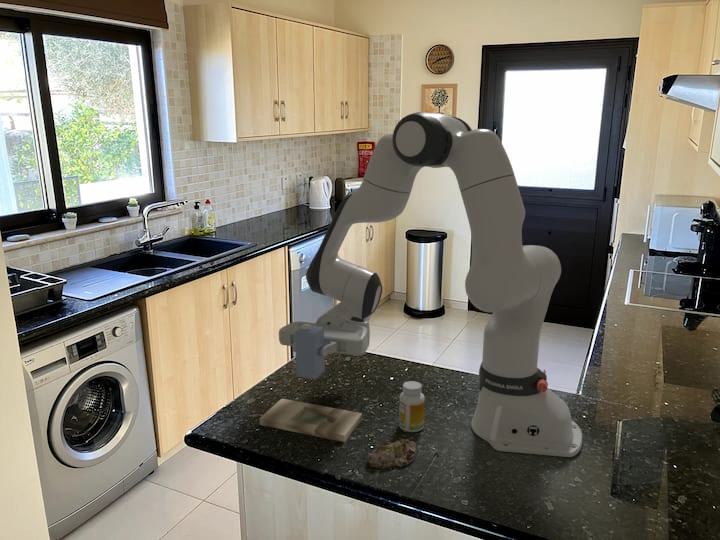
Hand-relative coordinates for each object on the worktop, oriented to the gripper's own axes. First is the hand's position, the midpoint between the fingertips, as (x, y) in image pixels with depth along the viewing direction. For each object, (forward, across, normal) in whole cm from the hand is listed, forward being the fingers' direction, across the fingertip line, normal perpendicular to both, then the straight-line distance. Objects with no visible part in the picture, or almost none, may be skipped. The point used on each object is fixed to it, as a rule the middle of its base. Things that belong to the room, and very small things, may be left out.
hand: (308, 350), depth 122 cm
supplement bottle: (-7, +21, +17) cm, 28 cm away
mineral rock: (+6, +20, +18) cm, 28 cm away
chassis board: (-1, 0, +17) cm, 17 cm away
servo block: (-1, 0, +6) cm, 6 cm away
